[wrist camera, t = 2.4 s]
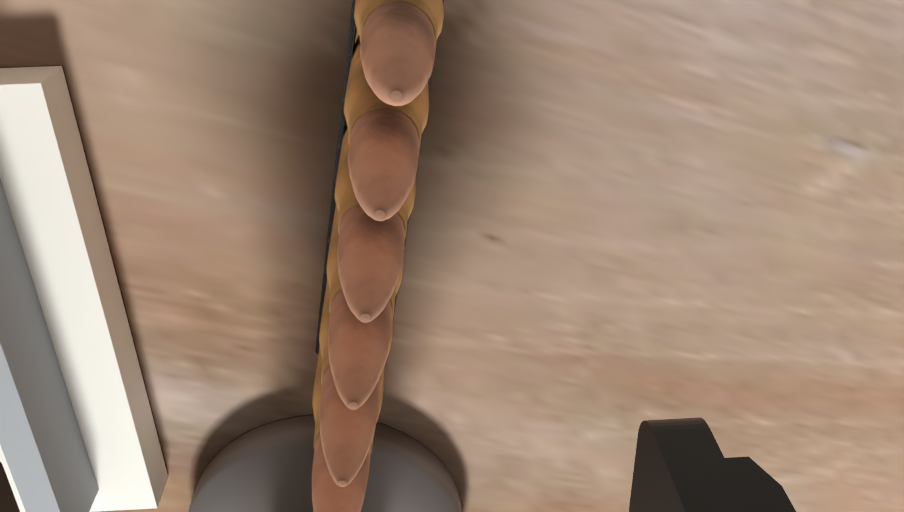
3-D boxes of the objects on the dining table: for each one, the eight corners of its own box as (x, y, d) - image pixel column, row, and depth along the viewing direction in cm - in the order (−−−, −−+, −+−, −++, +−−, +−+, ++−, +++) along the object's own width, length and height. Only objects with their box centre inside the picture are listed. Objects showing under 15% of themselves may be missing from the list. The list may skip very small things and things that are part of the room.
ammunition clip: (389, 271, 26) (376, 592, 16) (329, 264, 26) (278, 585, 16) (443, -89, 21) (477, 36, 11) (370, -102, 21) (333, 13, 11)
